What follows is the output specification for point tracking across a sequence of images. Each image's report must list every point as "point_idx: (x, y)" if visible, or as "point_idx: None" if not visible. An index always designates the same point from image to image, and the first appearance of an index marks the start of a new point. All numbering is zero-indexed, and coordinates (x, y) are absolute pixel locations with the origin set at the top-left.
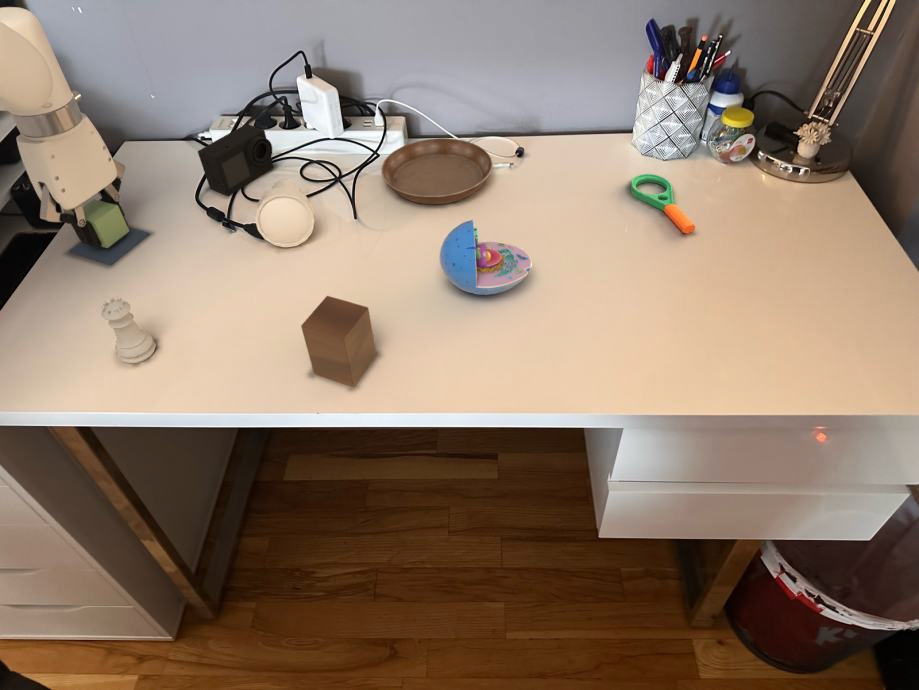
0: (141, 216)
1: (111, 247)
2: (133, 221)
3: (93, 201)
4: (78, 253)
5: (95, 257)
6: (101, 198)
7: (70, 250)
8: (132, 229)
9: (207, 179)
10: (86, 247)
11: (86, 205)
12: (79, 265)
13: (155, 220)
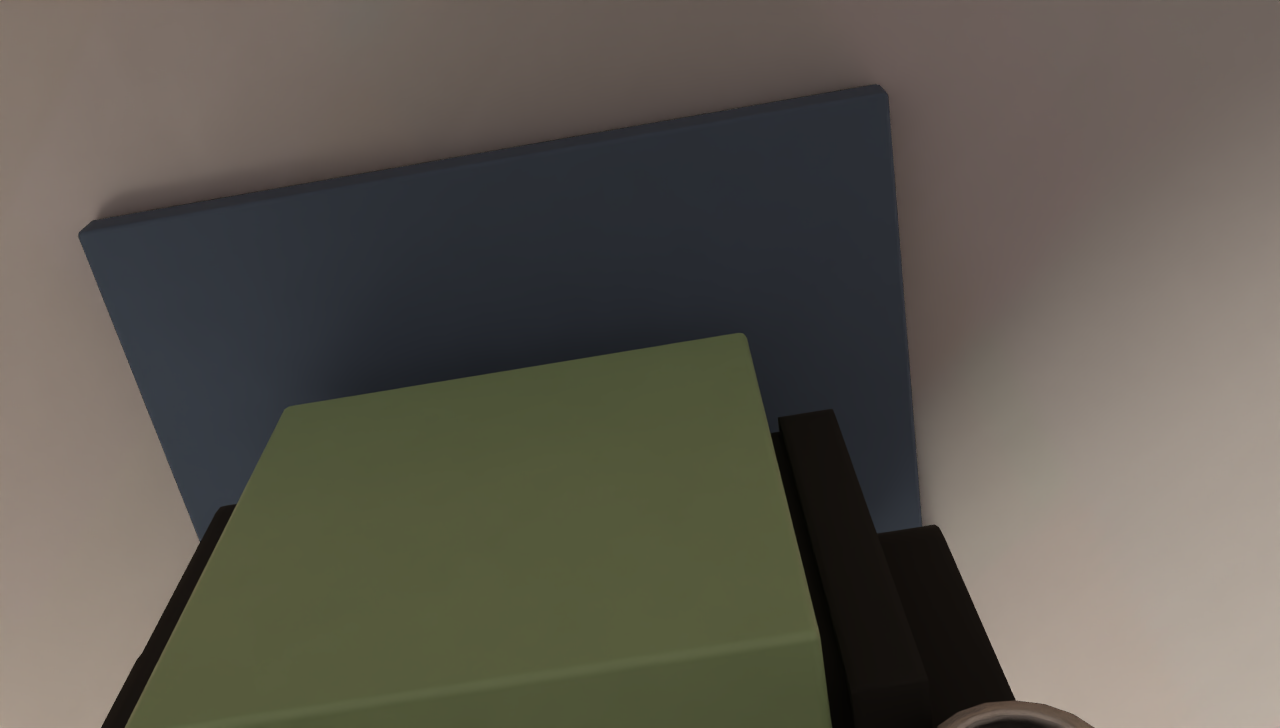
0: (1208, 321)
1: None
2: (1067, 326)
3: (735, 701)
4: (149, 399)
5: None
6: (922, 687)
7: (101, 246)
8: (894, 530)
9: None
10: (292, 372)
11: (548, 710)
12: (70, 529)
13: (1195, 536)
